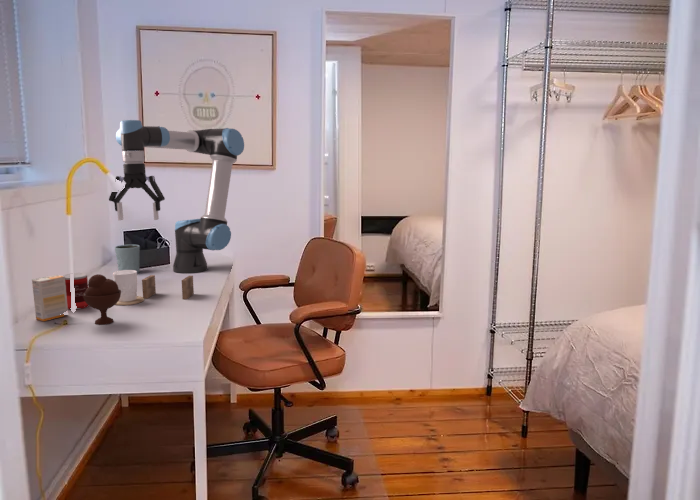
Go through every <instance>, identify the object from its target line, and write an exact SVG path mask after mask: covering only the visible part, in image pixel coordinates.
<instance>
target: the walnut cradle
mask: <svg viewBox="0 0 700 500" xmlns="http://www.w3.org/2000/svg"><path fill="white" fill-rule="evenodd" d="M141 285H142V286H141V287H142V288H141V289H142V297H143V298H144V300H146V299H147V300H148V299H149V298H151V297H152V296H154V295H155V294H156V293H157V291H156V288H157V287H156V275H155V274H150V275H149V276H147V277H145V278H142V279H141ZM194 289H195V288H194V275H188V276H186V277H184V278H182V280H181V296H182V298H181V299H182V300H188V299H189V298H190V297H192V296H193V295H195V294H194V293H195V291H194Z"/></svg>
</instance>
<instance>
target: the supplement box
mask: <svg viewBox="0 0 700 500" xmlns="http://www.w3.org/2000/svg"><path fill="white" fill-rule="evenodd" d="M31 285H32V294H33V302H34V311H35V313H34V314H35V319H36V320H38V321H40V322H46V321H50V320H53V319H58V318H63V317H65V316H64V314H63V313H64V312H66V311H67V310H68V311H69V309H68V306H67V295H66V285H65V277H64V276H63V275H60V274H54V275H49V276H48V275H47V276H44V277H38V278H33V279H31ZM60 314H61V315H60Z"/></svg>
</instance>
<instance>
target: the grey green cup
mask: <svg viewBox="0 0 700 500" xmlns="http://www.w3.org/2000/svg"><path fill="white" fill-rule="evenodd" d="M140 247H141V246H140V245H139V244H121V245H117V246H114V251H115V257H116V263H117V269H118V270H117V271H121V270H135V271H137V274H139V273H140V250H141V248H140Z"/></svg>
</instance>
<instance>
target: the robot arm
mask: <svg viewBox="0 0 700 500" xmlns="http://www.w3.org/2000/svg"><path fill="white" fill-rule="evenodd" d="M115 139H116V142H117V143H118V144H119V146H121V151H122V153H121V154H122V155H121V156H122V162H123V165H122V166H123V174H124V175H123V176H121V175H117V176H115V180H116V179H117V180H119V181H121V183H123V182H124V183H125V184H124V185H125V188H124V189H123V188H122V189H123V190H122V189H121V190H122V191H121V190H120V191H118V192H112V191H111V192H110V195H109V197H108V201H109V202H113V203H114V210H115V212H117V220H118V221H123V220H124V212H123V202H121V200H122V199H123V197H124V196H125V195H126V193H127V192H128V191H129V189H142V190H144V191H145V193H146V194H147V195H148V196H149V198H150V199H151V200H153V201H154V202H152V209H153V221H159V219H160V218H159V211H161V202H162V201H165V199H166V198H165V196H164V194H163V193H162V191H161V189H160V187H159V186H158V184H157V182H156V178H155V175H149V176H147V174H146V164H145V163H144V162H145V161H146V159H145V150H144V148H152V149H153V148H154V149H169V150H172V149H173V150H185V151H187V152H189V153H195V154H202V155H209V158H210V159H211V161H212V164H211V171H210V176H209V181H208V182H209V184H208V190H207V195H206V196H207V197H206V201H205V202H206V203H205V209H204V210H205V211H204V214H203V215H202V216H200V218H192V219H183V220H178V221H176V222H175V225H174V236H175V239H174V240H175V257H174V261H173V264H172V271H173V272H175V273H178V274H179V273H180V274H193V273H200V272H205V271H208V269H209V268H208V267H209V266H208V262H207V260H206V257H205V254H204V250H208V251H221V250H224V249H225V247H228V245H229V243H230V241H231V238H232V232H231V227H230V226H229V225H228V220H227V219H226V217H225V216H226V209H227V203H228V195H229V189H230V182H231V176H232V169H233V164H235V163H236V162H237V159H238V156H240V155H241V154H243V152H244V150H245V142H244V141H245V140H244V138H243V135H242V134H241V133H240V131H239V130H237V129H235V128H229V127H225V128H206V129H198V130H197V129H196V130H192V129H190V130H187V131H177V130H168V129H167V128H166V127H163V126H160V125H159V126H154V125H153V126H148V125H147V126H146V125H145V126H144V125H143V124H142V120H137V119H123V120H121V121H120V123H119V129H118V130H117V131H116V133H115ZM146 182H148V183H149V184H150V185H151V188H152V189H153V190H152V189H151V188H150V187H149V185H148V184H147V183H146Z"/></svg>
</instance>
